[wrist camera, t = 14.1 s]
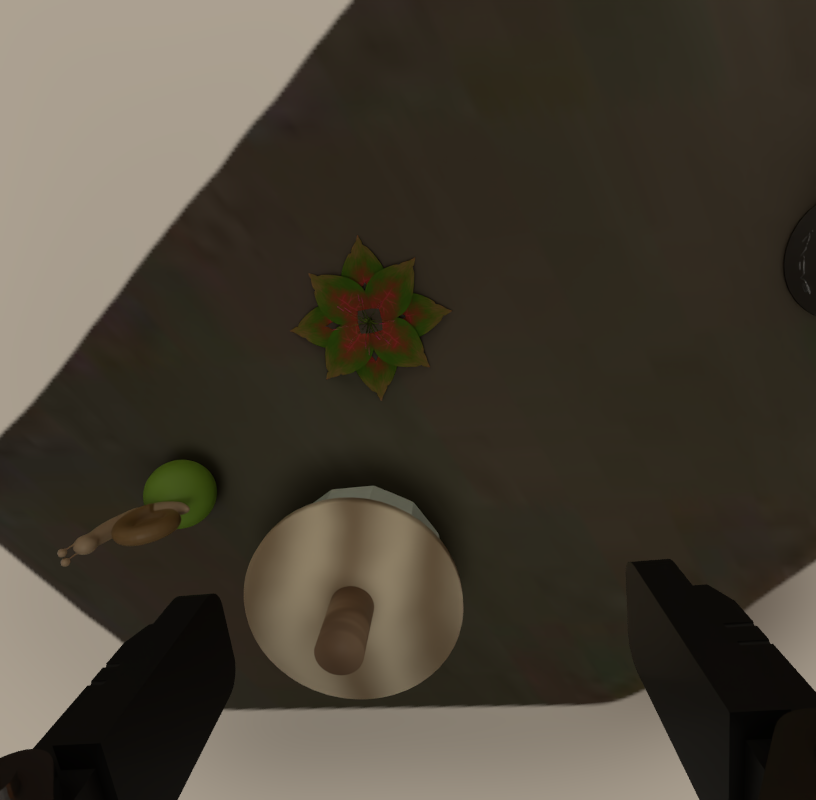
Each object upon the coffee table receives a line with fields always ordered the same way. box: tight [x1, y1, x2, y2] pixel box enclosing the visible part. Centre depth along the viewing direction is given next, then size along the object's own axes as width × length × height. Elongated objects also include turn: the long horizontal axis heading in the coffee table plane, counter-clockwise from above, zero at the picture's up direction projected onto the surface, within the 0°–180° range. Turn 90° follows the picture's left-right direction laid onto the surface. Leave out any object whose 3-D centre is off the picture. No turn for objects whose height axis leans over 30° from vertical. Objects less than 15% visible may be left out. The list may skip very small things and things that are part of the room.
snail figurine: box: [58, 460, 217, 566], centre depth 40 cm, size 5×6×12 cm
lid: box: [244, 497, 463, 699], centre depth 37 cm, size 16×16×6 cm
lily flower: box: [291, 235, 452, 400], centre depth 39 cm, size 12×12×5 cm
